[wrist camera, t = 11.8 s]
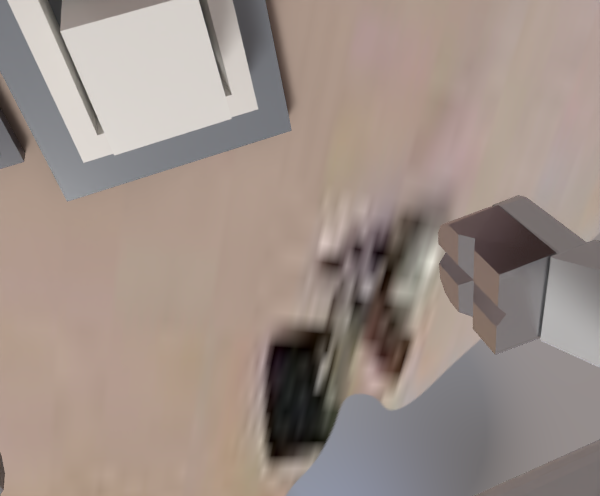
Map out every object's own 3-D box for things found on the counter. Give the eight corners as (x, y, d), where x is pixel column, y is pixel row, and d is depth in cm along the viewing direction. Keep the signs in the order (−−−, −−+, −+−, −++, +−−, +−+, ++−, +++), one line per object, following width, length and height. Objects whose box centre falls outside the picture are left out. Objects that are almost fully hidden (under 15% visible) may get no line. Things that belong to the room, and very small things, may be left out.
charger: (62, -11, 23) (60, 31, 18) (168, -39, 24) (196, -7, 19) (105, 94, 26) (115, 157, 21) (199, 66, 27) (232, 120, 21)
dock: (-95, -129, 21) (-126, -127, 17) (218, -198, 23) (243, -207, 19) (67, 190, 29) (66, 232, 26) (285, 122, 31) (310, 153, 28)
